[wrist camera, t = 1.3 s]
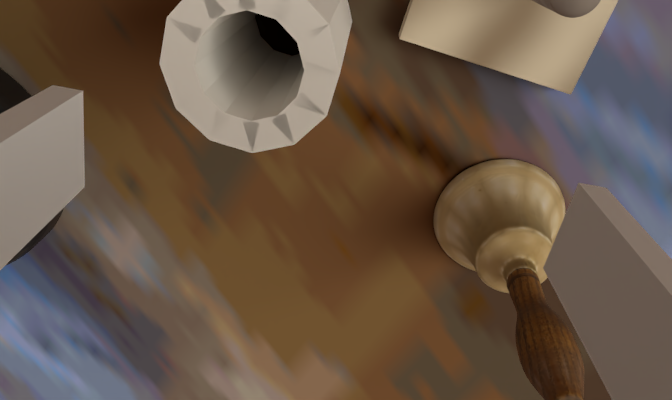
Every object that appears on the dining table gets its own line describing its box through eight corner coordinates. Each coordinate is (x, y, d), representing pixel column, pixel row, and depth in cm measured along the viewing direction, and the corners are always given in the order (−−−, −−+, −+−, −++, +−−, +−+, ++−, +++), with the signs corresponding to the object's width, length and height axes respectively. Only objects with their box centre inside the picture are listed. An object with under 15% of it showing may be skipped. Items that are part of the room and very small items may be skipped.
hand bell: (500, 292, 39) (571, 504, 25) (407, 226, 37) (426, 415, 23) (592, 208, 36) (735, 396, 22) (495, 132, 34) (581, 283, 20)
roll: (223, 57, 33) (150, 122, 22) (248, -62, 30) (177, -53, 20) (331, 90, 34) (310, 170, 23) (365, -23, 31) (360, 7, 20)
